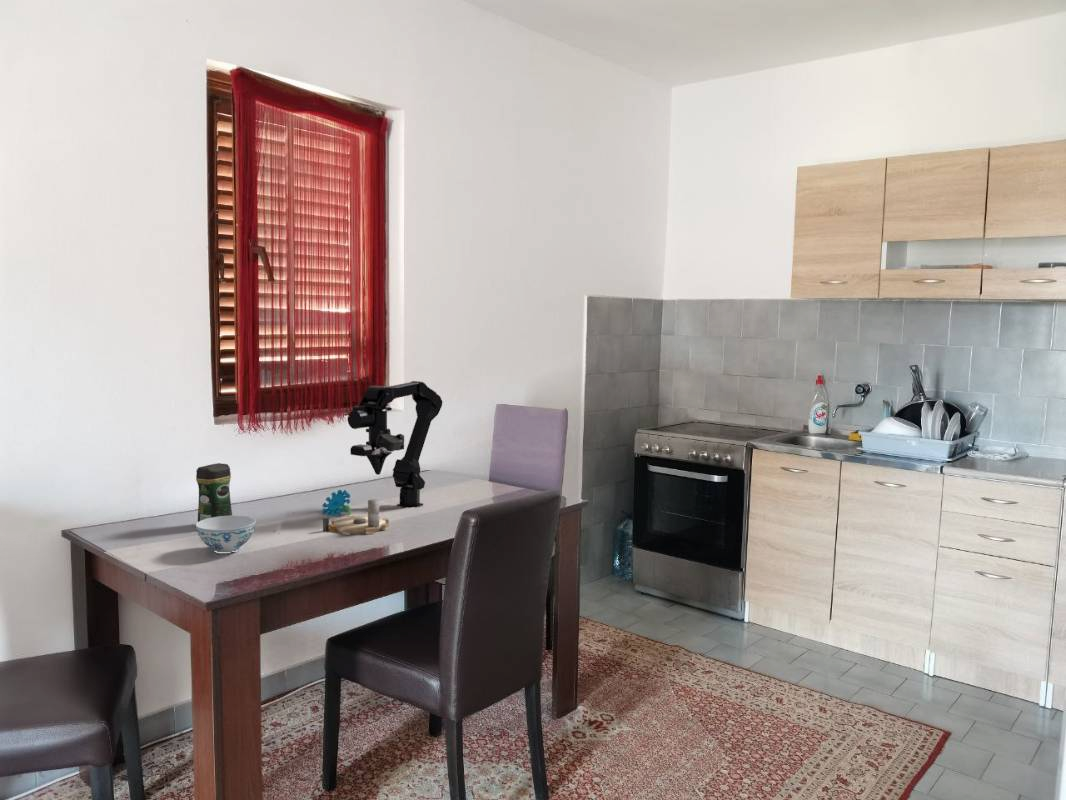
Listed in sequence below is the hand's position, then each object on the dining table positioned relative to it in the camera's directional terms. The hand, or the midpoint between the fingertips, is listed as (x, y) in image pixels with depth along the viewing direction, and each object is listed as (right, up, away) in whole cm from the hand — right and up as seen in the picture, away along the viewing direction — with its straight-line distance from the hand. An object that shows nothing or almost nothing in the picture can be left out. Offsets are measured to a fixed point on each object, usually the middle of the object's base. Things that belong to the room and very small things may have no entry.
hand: (378, 474), depth 258 cm
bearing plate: (-2, -15, -17) cm, 23 cm away
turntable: (-2, -14, -17) cm, 22 cm away
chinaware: (-33, -17, -40) cm, 55 cm away
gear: (-13, -13, 0) cm, 18 cm away
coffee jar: (-46, -14, -15) cm, 50 cm away
